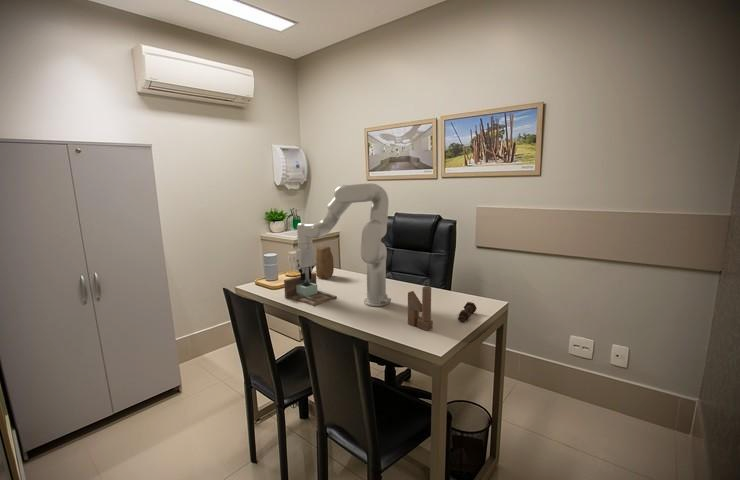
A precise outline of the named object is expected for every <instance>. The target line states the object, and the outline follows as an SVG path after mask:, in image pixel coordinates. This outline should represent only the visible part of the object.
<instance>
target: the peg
mask: <svg viewBox="0 0 740 480" xmlns="http://www.w3.org/2000/svg"><path fill="white" fill-rule="evenodd" d="M304 273H305V281H303V286H304V287H307V286H310V284H309V267H306V268H305V270H304Z"/></svg>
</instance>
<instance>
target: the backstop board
mask: <svg viewBox="0 0 740 480" xmlns="http://www.w3.org/2000/svg"><path fill="white" fill-rule="evenodd" d="M311 275H312V277H311V278H312V279H309V282H310V283H313V284H317V273H316V272H311ZM302 283H303V280H301V275H299V276H294V277H290V278H286V279H284V280H283V285H284V286H283V287H284V298H285V299H293V300H294V301H298V302H301V303H304V304H306V305H310V306H313V307H315V306H317V305H320V304H322V303H325V302H329V301H333V300H336V299H337V298H338V296H337V295H334V294H330V293H328V292H324V291H321V290H318V289H317V291H318V294H314V295H311V296H308V297H307V296H304V295H301V294H298V293H297V292H296V285H299V284H302Z"/></svg>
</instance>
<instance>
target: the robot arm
mask: <svg viewBox="0 0 740 480" xmlns="http://www.w3.org/2000/svg"><path fill="white" fill-rule="evenodd" d="M333 195H334V197H333V198H332V199H331V201H330V202H329V203H328V204H327V207H326V208H327V212H326V215H325V216H324V217H323V218H322V219H321V220H320V221H317V222H314V223H311V222H299V223H297V226H296V235H297V249H296V250H295V251H296V252H295V258H294V259H295V261H294V263H295V267H294V270H296V271H298V273H300V276H301V280H303V281H305V273H304V270H305V268H306V267H309V279H312V278H311V277H312V275H311V273H313V270H314V269H315V268H316V254H315V250H314V247H313V245H314V242H313V239H318V238H322V237H324V236H326V235H328V234H329V233H330V232H331V231H332V229H334V228H335V226H336V225H337V224H338V222H339V220H340V218H341V216H342V215H343V214H344V213H345V212H346V210H347V209H348V208H349V207H350V206H351V205H352V204H355V203H367V202H371V207H370V212H369V213H370V214H369V215H370V217H369V221H367V223H365V225H364V226H363V228H362V231H361V242H360V257H361V260H362V261H363V262H364V263H365V264H366V298H365V299H364V300H363V303H364V304H365V305H366V306H368V307H384V306H386V305H389V304H390V303H391V301H392V298H390V297H389V296H388V294H387V291H386V289H387V288H386V285H387V283H386V282H387V279H386V278H387V277H386V276H387V273H386V272H387V271H386V270H387V269H386V268H387V255H388V250H387V247H386V245H385V243H383V242H382V238H384V237H385V236H386V234H387V231H388V230H387V229H388V219H389V218H388V216H389V196H388V193H387V191H386V190H385V188H383V187H382V186H380V185H379V184H376V183H372V182H371V183H358V184H357V183H356V184H355V183H354V184H343V185H339V186H338V187H336V188H335V190H334V194H333Z"/></svg>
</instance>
